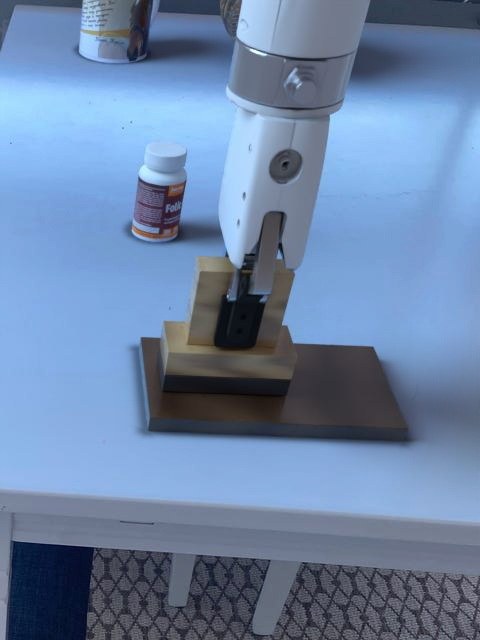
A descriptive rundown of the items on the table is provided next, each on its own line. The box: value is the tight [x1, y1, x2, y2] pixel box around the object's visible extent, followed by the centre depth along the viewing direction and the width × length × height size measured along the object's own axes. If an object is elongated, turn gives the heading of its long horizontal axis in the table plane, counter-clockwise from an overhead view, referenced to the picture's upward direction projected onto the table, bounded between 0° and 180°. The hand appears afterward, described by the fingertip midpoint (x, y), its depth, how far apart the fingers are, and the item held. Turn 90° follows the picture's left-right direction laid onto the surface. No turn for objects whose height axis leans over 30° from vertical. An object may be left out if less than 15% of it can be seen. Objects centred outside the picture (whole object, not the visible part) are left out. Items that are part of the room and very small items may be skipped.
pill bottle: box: [131, 140, 188, 243], centre depth 94 cm, size 5×5×8 cm
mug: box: [78, 0, 161, 64], centre depth 132 cm, size 10×12×11 cm
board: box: [138, 336, 409, 442], centre depth 77 cm, size 20×12×2 cm, turn 88°
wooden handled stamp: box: [157, 255, 298, 396], centre depth 73 cm, size 10×5×10 cm, turn 88°
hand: (231, 333), depth 74 cm, fingers closed on wooden handled stamp, 2 cm apart
